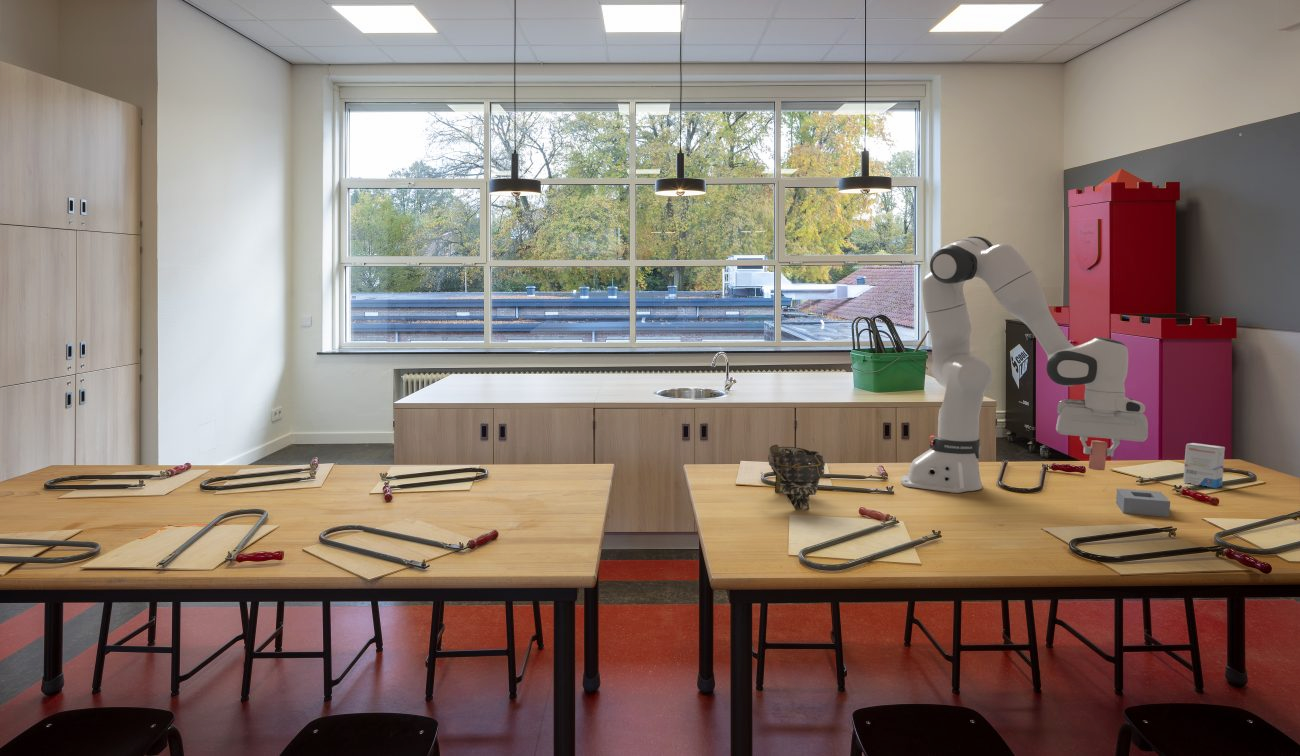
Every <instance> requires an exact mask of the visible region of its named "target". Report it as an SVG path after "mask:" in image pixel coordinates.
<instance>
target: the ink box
mask: <svg viewBox="0 0 1300 756" xmlns="http://www.w3.org/2000/svg"><path fill="white" fill-rule="evenodd" d="M1184 451H1185V454H1184V467H1183V482H1185V483H1184V484H1187V483H1191V484H1190V485H1193V484H1197V485H1196V486H1199V485H1202V486H1201V487H1204V486H1207V487H1206V488H1212V489H1218V488H1219V487H1223V477H1224V476H1223V475H1224V464H1225V451H1226V447H1225V446H1220V445H1212V444H1211V445H1210V444H1204V443H1196V442H1190V443H1186V445H1185V450H1184ZM1183 482H1182V483H1183Z"/></svg>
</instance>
